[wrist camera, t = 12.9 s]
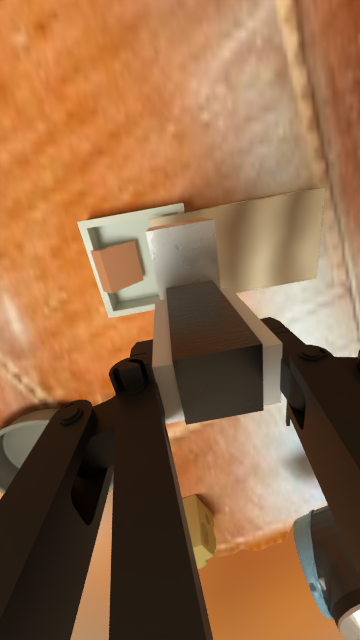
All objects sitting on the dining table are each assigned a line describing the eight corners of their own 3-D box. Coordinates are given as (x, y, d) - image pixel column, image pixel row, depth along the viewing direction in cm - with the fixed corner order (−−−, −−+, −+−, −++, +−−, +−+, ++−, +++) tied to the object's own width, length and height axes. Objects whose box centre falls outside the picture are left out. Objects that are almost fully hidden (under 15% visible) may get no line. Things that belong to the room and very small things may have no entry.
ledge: (297, 191, 30) (325, 187, 25) (293, 268, 34) (316, 278, 29) (150, 217, 29) (149, 219, 24) (165, 291, 34) (166, 305, 29)
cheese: (212, 510, 61) (221, 563, 52) (175, 524, 62) (178, 577, 53) (195, 491, 56) (203, 545, 47) (156, 506, 58) (156, 561, 49)
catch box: (180, 203, 29) (183, 202, 26) (193, 293, 34) (197, 301, 31) (85, 220, 29) (77, 222, 26) (113, 308, 34) (108, 318, 31)
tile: (99, 250, 26) (90, 251, 27) (112, 293, 28) (103, 291, 29) (134, 241, 29) (125, 241, 30) (143, 280, 31) (134, 278, 32)
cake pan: (58, 497, 53) (50, 521, 49) (-37, 438, 43) (-57, 462, 39) (149, 455, 49) (148, 477, 45) (69, 378, 39) (59, 398, 35)
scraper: (202, 217, 17) (280, 226, 6) (215, 335, 21) (275, 465, 10) (148, 227, 17) (129, 254, 6) (172, 343, 21) (186, 481, 10)
